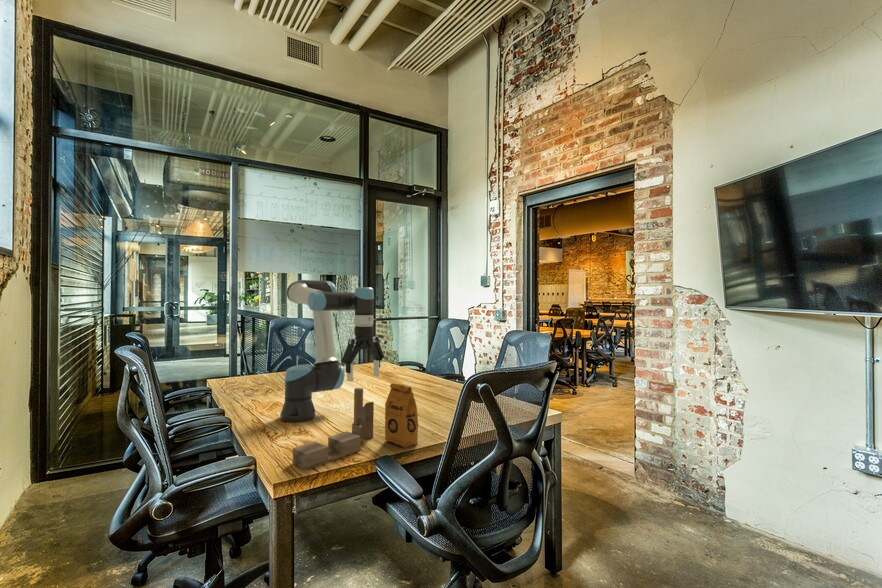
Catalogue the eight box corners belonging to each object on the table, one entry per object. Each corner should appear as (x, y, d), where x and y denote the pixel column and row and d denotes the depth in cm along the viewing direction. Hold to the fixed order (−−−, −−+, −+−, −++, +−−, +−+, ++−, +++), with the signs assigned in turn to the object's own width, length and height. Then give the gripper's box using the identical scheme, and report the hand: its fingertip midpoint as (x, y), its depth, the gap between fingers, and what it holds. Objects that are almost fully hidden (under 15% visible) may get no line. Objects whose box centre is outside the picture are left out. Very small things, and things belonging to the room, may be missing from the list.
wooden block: (365, 439, 155) (366, 393, 156) (351, 432, 163) (352, 388, 164) (373, 437, 158) (374, 391, 158) (359, 430, 166) (360, 387, 166)
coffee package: (402, 450, 145) (402, 389, 145) (381, 441, 153) (381, 384, 154) (422, 443, 152) (423, 385, 152) (401, 435, 160) (401, 380, 161)
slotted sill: (292, 463, 132) (292, 448, 132) (346, 444, 150) (346, 431, 150) (306, 469, 127) (306, 454, 127) (360, 450, 145) (360, 436, 145)
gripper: (344, 327, 149) (344, 384, 149) (392, 324, 168) (392, 375, 168) (332, 326, 154) (331, 382, 153) (380, 324, 173) (380, 373, 173)
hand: (363, 378), depth 161 cm, fingers open, 13 cm apart
